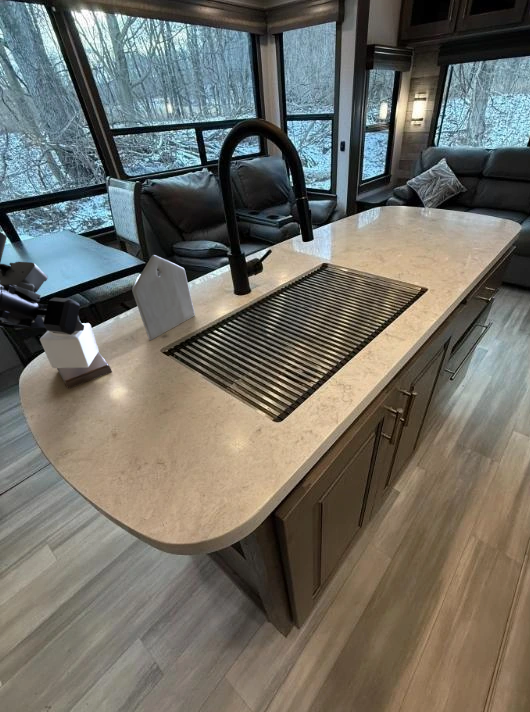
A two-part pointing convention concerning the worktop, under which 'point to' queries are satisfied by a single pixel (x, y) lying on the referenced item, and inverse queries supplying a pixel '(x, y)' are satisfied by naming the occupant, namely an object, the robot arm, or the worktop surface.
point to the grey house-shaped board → (162, 296)
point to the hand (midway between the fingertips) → (67, 326)
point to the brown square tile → (85, 372)
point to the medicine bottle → (70, 348)
